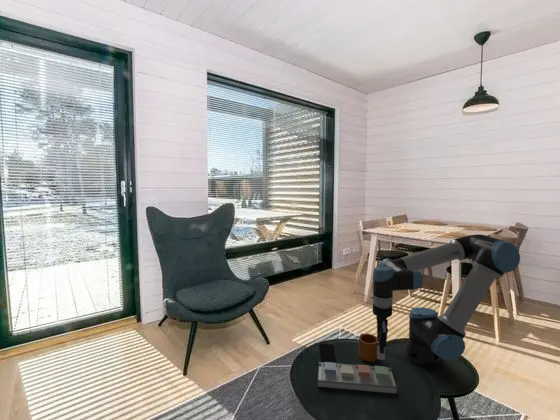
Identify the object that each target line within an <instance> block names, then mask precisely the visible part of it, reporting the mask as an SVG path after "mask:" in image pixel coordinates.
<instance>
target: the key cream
mask: <svg viewBox="0 0 560 420" xmlns="http://www.w3.org/2000/svg"><path fill="white" fill-rule="evenodd" d="M341 377H348V378H353V368H352V366H344V365H341Z"/></svg>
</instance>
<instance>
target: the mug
mask: <svg viewBox="0 0 560 420" xmlns="http://www.w3.org/2000/svg"><path fill="white" fill-rule="evenodd" d="M377 343H379V342H378V338H377V335H374V334H371V333H360V334H359V336H358V357H359V358H360V359H361V360H363V361H365V362H370V363H373V362H375V361H378V360H379V359H378V357H377V355H378V346H377Z"/></svg>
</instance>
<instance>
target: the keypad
mask: <svg viewBox="0 0 560 420" xmlns="http://www.w3.org/2000/svg"><path fill="white" fill-rule="evenodd" d="M341 365H344V366H352V368H353V378H348V377H341ZM358 365H359V364H349V363H348V364H345V363H336V374H325V373H324V368H325V363H322V362H321V361H320V362H318V375H317V376H318V377H317V388H318V387H319V388H330V389H331V388H332V389H342V390H343V389H344V390H354V391H355V390H356V391H366V392H373V393H374V392H375V393H376V392H377V393H386V394H397V393H398V390H397V389H398V388H397V384H396V382H395V378H394V376H393V372H392V367H387V366H386V367H387V371H388V379H385V378H376V375H375V370H374V366H375V365H374V366H373V365H369V367H370V372H371V377H361V376H358Z"/></svg>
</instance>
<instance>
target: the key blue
mask: <svg viewBox="0 0 560 420" xmlns="http://www.w3.org/2000/svg"><path fill="white" fill-rule="evenodd" d="M336 364H337V362H336V363H331V362H325V368H324V373H325V374H336Z"/></svg>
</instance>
